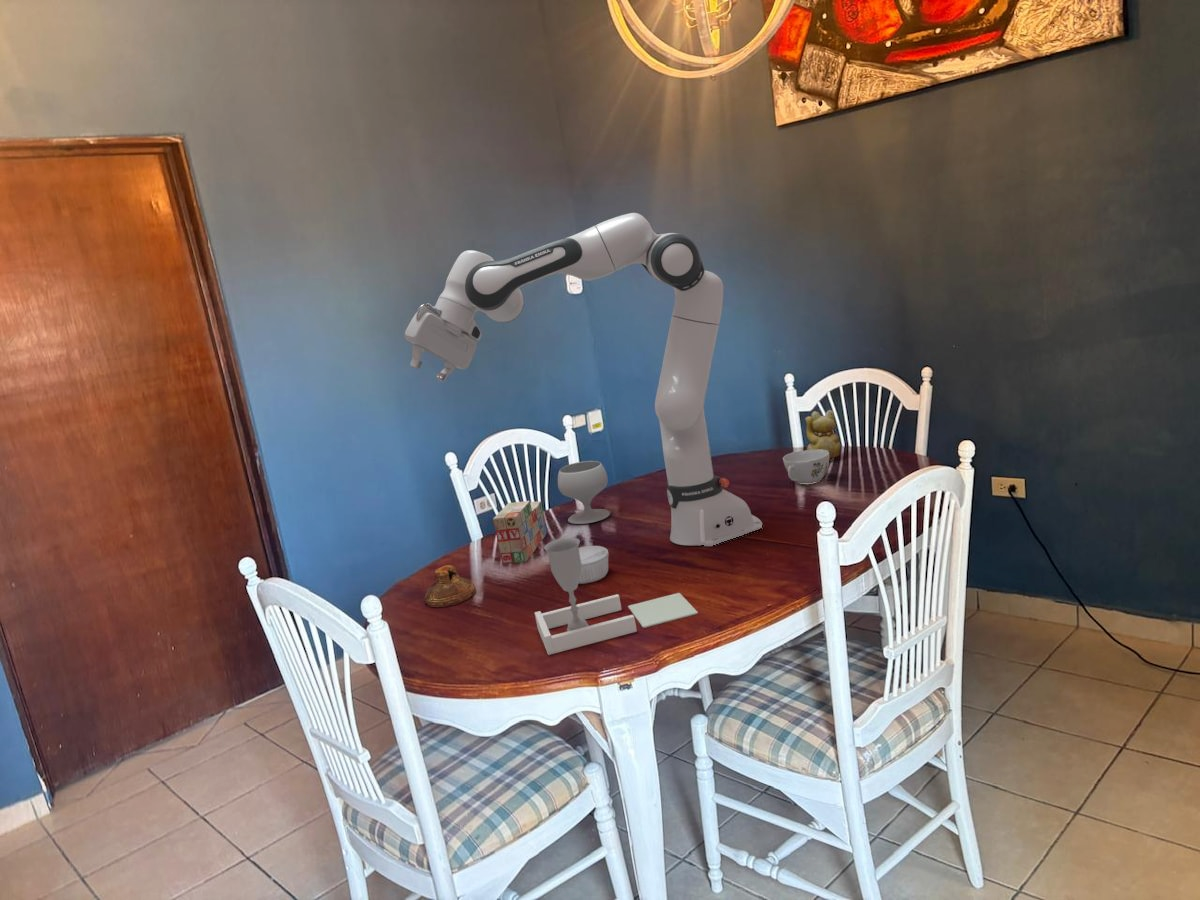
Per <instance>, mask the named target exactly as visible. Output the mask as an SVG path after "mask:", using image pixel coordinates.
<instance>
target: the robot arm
mask: <svg viewBox="0 0 1200 900" xmlns="http://www.w3.org/2000/svg"><path fill="white" fill-rule="evenodd" d="M635 264H641V265H642V267H643V268H644V269H645V270H646V271H647V273H648V274H649V275H650V276H652V277H653V278H654V279H655V280H657V281H658V282H660V283H662V284H666V285H668V286H671V287H672V288H673V291H674V304H673V307H672V314H671V319H670V323H669V330H668V335H667V338H666V344H665V350H664V353H663V360H662V365H661V371H660V375H659V378H658V385H657V390H656V394H655V400H654V410H655V411H654V412H655V414H656V417H657V418H658V420H659V421H658V422H659V429H660V435H661V444H662V453H663V458H664V465H665V466H664V467H665V471H666V479H667V482H666V494H667V495H666V496H667V499H668V503H669V506H670V513H671V516H670V517H671V519H670V520H671V522H670V524H671V525H670V526H671V527H670V536H669V541H671V542H672V543H674V544H675V545H680V546H701V545H704V546H703V547H714V546H713V545H715V546H717V545H716V544H718V545H720V544H719V543H721V542H724V541H727V540H730V539H733V538H736V537H739V536H742V535H744V534H747V533H749V532H752V531H755V530H758V529H760V528H762V525H763V522H762V521H761V519H760V518H758V517H757V516H755V515H753V514H752V513H751V512H752V511H751V509H750V507H749V505H748V504H747V503H746V501H745V500H743V499H742V498H741V497H739V496H737V495H735V494H734V493H732V492H730V491H727V489H724V488H728V487H729V485H730V481H729V480H728V479H727V478H726V477H721V476H719V475H715V474H714V469H713V463H712V456H711V448H710V442H709V436H708V434H709V433H708V427H707V421H706V417H705V407H704V406H705V400H706V395H707V390H708V385H709V379H710V373H711V367H712V362H713V356H714V352H715V347H716V341H717V337H718V332H719V328H720V324H721V317H722V311H723V302H724V301H723V300H724V299H723V298H724V283H723V281H722V279H721V278H720V277H719V275H717V274H716V273H714V272H712V271H710V270H709V271H708V270H705V267H704V265H703V261H702V258H701V254H700V251H699V249H698V247H697V245H696V244H695V242H694V241H693V240H692V239H691V238H690V237H688V236H686V235H684V234H681V233H677V232H668V233H667V232H666V233H659V232H657V233H656V232H655V231H654V230H653V229H652V226H651V224H650V222H649V221H648V219H646V218H645V217H644V215H642V214H640V213H637V212H630V213H626V214H621V215H618V216H615V217H613V218H609V219H607V220H604V221H602V222H600V223H598V224H596V225H593V226H591V227H589V228H586V229H584V230H582V231H580V232H578V233H575V234H573V235H571V236H570V235H569V236H568V237H564V238H562V239H558V240H555V241H552V242H549V243H546V244H543V245H541V246H539V247H535V248H532V249H531V250H528V251H526V252H523V253H520V254H518V255H514V256H512V257H509V258H506V259H500V260H495V259H494V258H493V257H492V256H491V255H490V254H488V253H485V252H483V251H479V250H475V249H468V250H464V251H463V252H461V253H460V255H458V257H457V258H456V260H455V262H454V263H453V265H452V267H451V269H450V272H449V274H448V276H447V278H446V281H445V285H444V289H443V291H442V292H441V294H440V295H439V296H438V299H437V301H436V303H435V305H434V306H433V305H432V304H431V303H429V302H427V303H424V304H421V305H420V306H419V307H418V309H417V312H416V313H415V314H414V315H413V316H412V318H411V320H410V322H409V323H408V326H407V327H406V330H405V332H404V339H405V340H406V341H408V342H409V343H412V345H413V346H412V350H411V352H412V353H411V354H412V355H411V356H412V358H411V361H410V364H409V365H410V366H411V367H413V368H415V369H418V370H420V368H421V366H422V365H423V361H422V360H421V359H422V354H423V353H424V352H425V351H426V352H427V353H428V354H431V355H433V356H434V357H436V358H438V359H440V360H441V361H443V362H444V364H443V367H444V368H443V369H442V370H441V371H438V372H437V375H436V376H435V379H436V380H437V381H439V382H442V383H445V382H446V381H447V377H448V376H449V375H451V374H452V373H453V372H455V368H457V369H459V370H461V371H462V370H463V371H465V370H467V368H469V366H470V364H471V362H472V360H473V357H474V356H475V353H476V351H477V345H478V344H477V343H478V341H479V342H480V340H481V339H482V335H483V333H482V331H481V329H480V327H479V326H478V324H477V323H476V321H475V319H474V318H475V315H476V313H477V312H480V313H482V314H485V315H486V316H487V317H488V318H489V319H491V320H493V321H495V322H499V323H509V322H512V321H515V320H516V319H517V318H518V317H519V316H520V315H521V313H522V311H523V309H524V307H525V298H524V294H523V293H522V290H521V289H520V288H521V287H524V286H527V285H530V284H532V283H534V282H537V281H540V280H542V279H544V278H546V277H549V276H552V275H559V274H560V275H561V274H562V275H568V276H572V277H574V278H577V279H579V280H582V281H587V282H590V281H595V280H598V279H601V278H605V277H607V276H609V275H610V276H611V275H612V274H614V273H616V272H617V271H620V270H622V269H624V268H626V267H628V266H630V265H631V266H632V265H635ZM762 529H763V528H762ZM742 537H743V536H742ZM739 538H740V537H739ZM736 539H737V538H736ZM733 540H734V539H733ZM730 541H731V540H730ZM727 542H728V541H727ZM724 543H725V542H724ZM721 544H722V543H721Z"/></svg>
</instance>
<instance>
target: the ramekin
mask: <svg viewBox="0 0 1200 900" xmlns="http://www.w3.org/2000/svg"><path fill="white" fill-rule="evenodd" d="M578 548H579V554H580V559H581V564H582V568H581V575H580V579H579V583H578V585H579V584H583V585H584V584H589V583H594V582H597V581H600V580H602V579H603V578H605V577H606V575H608V572H609V555H610V554H609V550H608V549H607V548H606V547H604V546H600V545H588V546H587V545H586V546H581V547H578Z"/></svg>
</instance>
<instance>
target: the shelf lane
mask: <svg viewBox="0 0 1200 900" xmlns="http://www.w3.org/2000/svg"><path fill="white" fill-rule="evenodd" d="M620 598H621V597H620V595H619V594H617V593H616V594H613V595H610V596H609V595H608V596H606V597H601V598H598V599H593V600H589V601H586V602H585V601H584V602H581V603H578V604H576V606H577V607H578V608H579V609H578V613H577V614H578V617H580V618H583V619H584V620H585V621H586V620H588V619H592V618H596V617H599V616H603V615H604V616H605V615H607V614H608V615H609V614H611V613H616V612H619V611H620V612H621V611H623V610H622V603H621V599H620ZM570 609H571V605H570V606H566V607H562V608H558V609H554V610H550V611H546V612H543V613H542V612H541V610H539V611H535V612H534V616H535V622H536V627H537V630H538V634H539V636H540V639H541V641H542V644H543V646H544V648H545V650H546V653H547V655H548V656H550V655H554V654H558V653H561V652H562V653H563V652H565V651H568V650H572V649H576V648H580V647H583V646H584V647H585V646H587V645H591V644H595V643H599V642H603V641H606V640H610V639H614V638H618V637H621V636H625V635H628V634H629V635H630V634H634V633H636V632H638V631H637V625H636V620H635V619H636V617H635V616H634V615H633V614H630V615H625V616H620V617H617V618H614V619H611V620H606V621H602V622H599V623H598V622H597V623H595V624H591V625H589V626H587V627H583V628H579V629H575V630H571V631H567V630H566V631H564V632H560V633H557V634H553V635H552V634H551V633H550V629H553V628H557V627H561V626H562V627H563V626H566V625H568V623H569V622H570V621H571V620H572V619H573V613H572V611H570Z"/></svg>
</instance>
